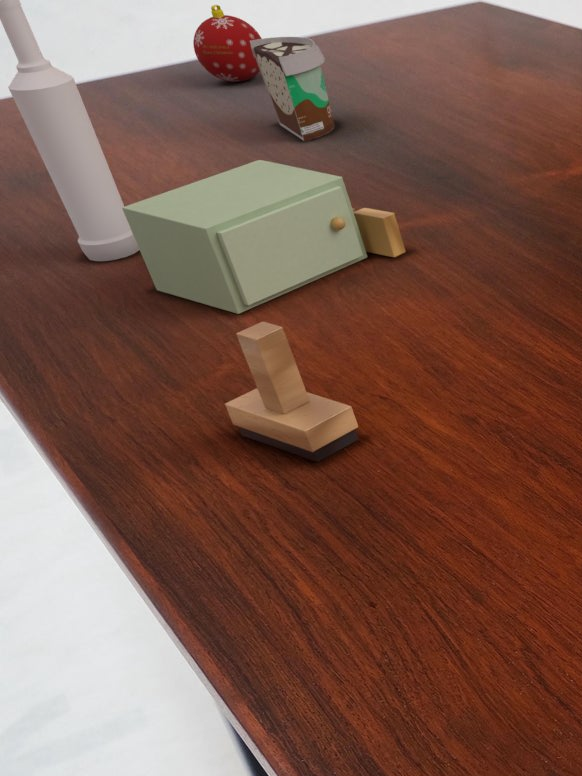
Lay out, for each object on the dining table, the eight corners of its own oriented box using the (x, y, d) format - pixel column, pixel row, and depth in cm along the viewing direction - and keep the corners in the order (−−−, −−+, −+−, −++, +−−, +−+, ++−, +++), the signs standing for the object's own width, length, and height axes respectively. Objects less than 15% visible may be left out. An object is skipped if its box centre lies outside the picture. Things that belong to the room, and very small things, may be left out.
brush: (317, 464, 92) (275, 354, 87) (237, 436, 96) (193, 329, 91) (363, 439, 95) (325, 330, 90) (284, 412, 99) (243, 307, 94)
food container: (359, 132, 157) (334, 47, 151) (308, 143, 154) (280, 58, 148) (325, 111, 165) (300, 30, 159) (275, 122, 162) (248, 39, 156)
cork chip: (382, 218, 121) (394, 212, 122) (352, 212, 123) (364, 207, 124) (394, 257, 124) (406, 252, 125) (364, 251, 125) (376, 246, 126)
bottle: (156, 243, 129) (46, -22, 114) (115, 263, 125) (-4, -9, 110) (113, 240, 130) (-1, -23, 116) (72, 260, 126) (-51, -10, 112)
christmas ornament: (193, 88, 176) (164, 12, 170) (235, 71, 183) (209, -3, 177) (246, 90, 174) (220, 13, 169) (287, 72, 181) (263, -2, 176)
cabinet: (249, 317, 113) (216, 231, 109) (156, 290, 119) (121, 207, 114) (378, 260, 123) (353, 178, 119) (287, 237, 129) (259, 159, 124)
